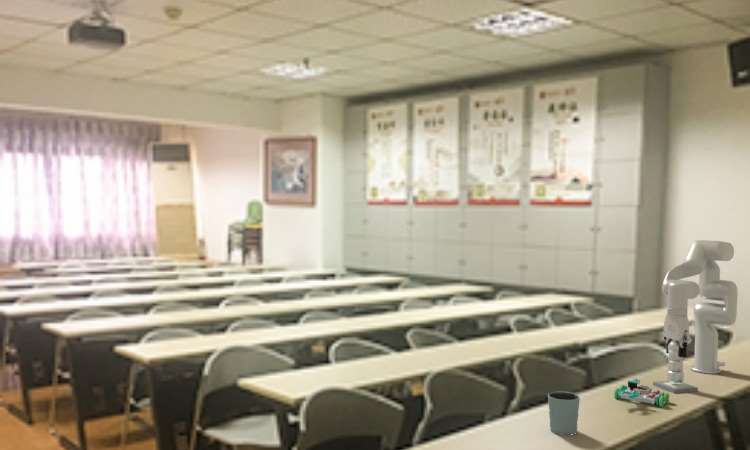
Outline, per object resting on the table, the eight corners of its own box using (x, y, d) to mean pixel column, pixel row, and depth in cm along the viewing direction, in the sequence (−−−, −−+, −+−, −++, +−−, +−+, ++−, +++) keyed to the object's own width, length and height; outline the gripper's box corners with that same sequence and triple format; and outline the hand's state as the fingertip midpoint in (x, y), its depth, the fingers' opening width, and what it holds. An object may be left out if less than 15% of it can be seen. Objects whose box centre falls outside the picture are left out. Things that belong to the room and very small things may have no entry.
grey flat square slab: (676, 383, 280) (676, 380, 280) (697, 391, 268) (697, 387, 268) (653, 385, 276) (653, 381, 276) (673, 393, 265) (673, 389, 265)
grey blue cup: (585, 433, 216) (586, 397, 216) (564, 438, 210) (565, 401, 210) (561, 424, 224) (562, 389, 224) (540, 429, 219) (541, 393, 219)
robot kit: (602, 406, 246) (602, 381, 246) (623, 392, 266) (624, 369, 266) (653, 417, 235) (654, 391, 235) (672, 401, 255) (673, 377, 254)
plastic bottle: (680, 380, 276) (681, 333, 275) (686, 384, 269) (687, 336, 268) (664, 380, 276) (665, 332, 276) (670, 384, 269) (671, 335, 269)
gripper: (655, 309, 279) (654, 351, 279) (685, 316, 262) (684, 360, 263) (669, 308, 281) (668, 350, 282) (700, 315, 264) (699, 359, 265)
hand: (676, 354), depth 272 cm, fingers closed on plastic bottle, 6 cm apart
